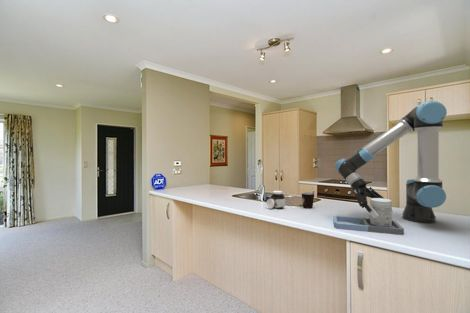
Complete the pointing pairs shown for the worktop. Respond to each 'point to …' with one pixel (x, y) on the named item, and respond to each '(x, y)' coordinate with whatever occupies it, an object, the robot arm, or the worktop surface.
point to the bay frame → (366, 225)
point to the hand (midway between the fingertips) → (383, 215)
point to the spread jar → (276, 200)
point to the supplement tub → (381, 212)
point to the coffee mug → (307, 200)
